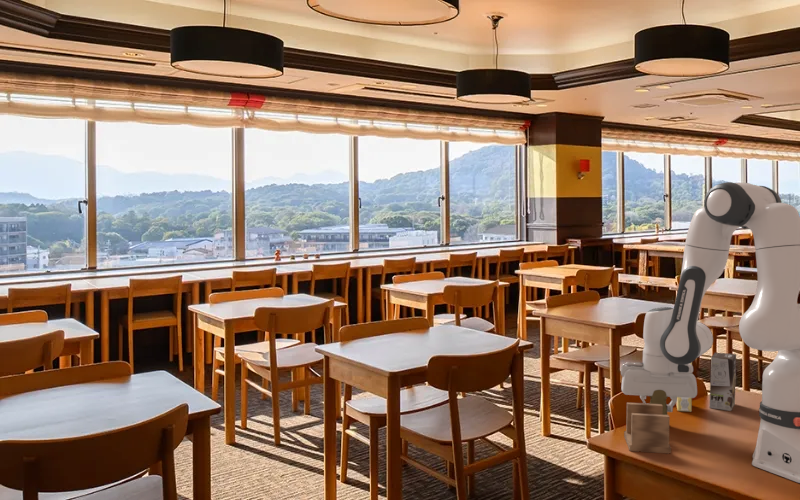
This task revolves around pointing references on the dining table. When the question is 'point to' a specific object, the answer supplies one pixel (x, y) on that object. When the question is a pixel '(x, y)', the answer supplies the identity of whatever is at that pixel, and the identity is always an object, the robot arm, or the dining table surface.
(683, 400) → the candy box
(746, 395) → the dining table surface
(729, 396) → the coffee box
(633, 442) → the caddy
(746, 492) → the dining table surface
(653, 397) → the cork
